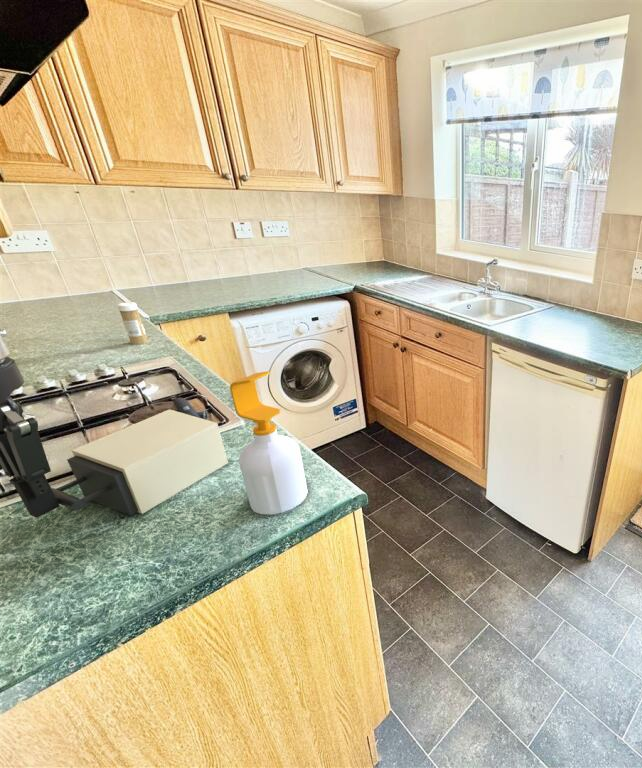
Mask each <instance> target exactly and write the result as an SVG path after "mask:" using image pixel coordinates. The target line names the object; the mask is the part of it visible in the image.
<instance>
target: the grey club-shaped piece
mask: <svg viewBox="0 0 642 768" xmlns="http://www.w3.org/2000/svg"><path fill="white" fill-rule="evenodd" d="M173 405H174V407H175V408H176V409H177V411H178V412H181V413H184V414H187V415H191V416H194V417H198V418H201V419H205V420H208V418H209V415H210V413H208V411H207V410H205V411H204V410H202V411H196V409H195V408H194V407H193V405H192V404H191V403H190V402H189V401H188V400H187V399H186V398H184V397H177V398H175V399H174V400H173Z"/></svg>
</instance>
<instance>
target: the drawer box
mask: <svg viewBox="0 0 642 768" xmlns="http://www.w3.org/2000/svg"><path fill="white" fill-rule="evenodd" d="M71 453H72V454H73V457H74V456H77V457H80V458H83V459H86V460H88V461H91V462H92V461H94V462H96V463H99V464H102V465H105V466H107V467H110V468H113V469H116V470H119V471H121V472H122V473H123V475H124V477H125V480H126V482H127V484H128V487H129V489H130V492H131V494H132V497H133V499H134V501H135V504H136V506H137V509H138V512H137V513H139V514H141V515H143V514H144V513H147V512H148V511H150V510H152V509H153V508H155V507H156V506H158V505H160V504H161V503H163V502H166V501H167V500H168V499H170V498H172V497H173V496H175V495H177V494H178V493H180V492H182V491H184V490H186V489H187V488H188V487H190V486H192V485H193V484H195V483H197V482H199V481H200V480H202V479H203V478H205V477H207V476H209V475H210V474H212V473H214V472H215V471H217V470H219V469H221V468H222V467H224V466H226V465H227V464H229V461H228V456H227V453H226V449H225V446H224V441H223V439H222V435H221V431H220V428H219V424H218V422H215V421H212V420H208V419H207V420H205V419H201V418H198V417H194V416H191V415H187V414H184V413H181V412H179V411H178V410H173V409H167V410H164V411H163V412H160V413H157V414H155V415H153V416H150V417H147V418H145V419H143V420H141V421H138V422H136V423H133V424H131V425H129V426H126V427H124V428H121V429H119V430H116V431H114V432H112V433H110V434H107V435H105V436H102V437H100V438H97V439H95V440H93V441H90V442H87V443H86V444H83V445H81V446H78V447H75V448H74V449H71Z"/></svg>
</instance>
